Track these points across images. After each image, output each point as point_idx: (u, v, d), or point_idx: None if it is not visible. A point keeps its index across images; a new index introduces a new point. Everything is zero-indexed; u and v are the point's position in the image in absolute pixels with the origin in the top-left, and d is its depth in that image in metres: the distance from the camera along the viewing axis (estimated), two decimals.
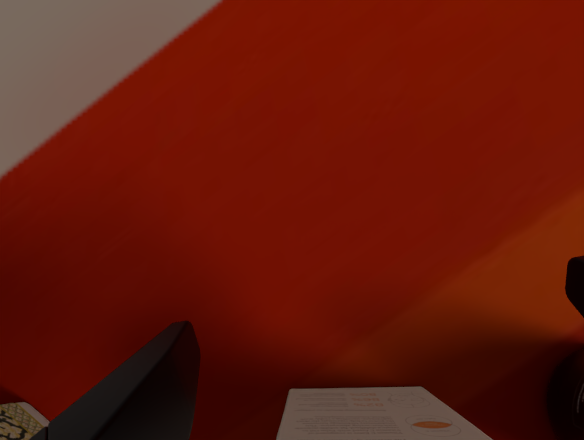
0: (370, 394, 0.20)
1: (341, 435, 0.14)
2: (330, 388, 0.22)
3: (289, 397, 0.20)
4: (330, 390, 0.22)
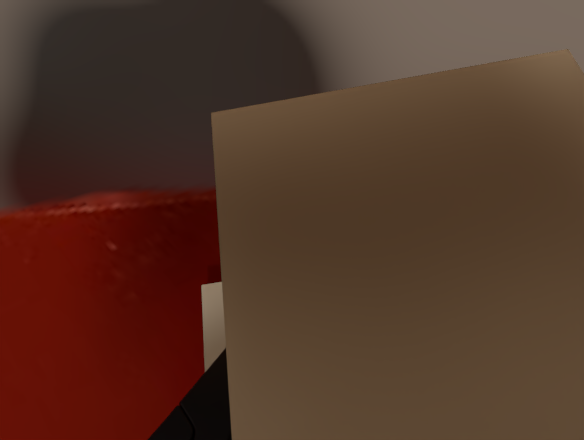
0: None
1: None
2: None
3: None
4: None
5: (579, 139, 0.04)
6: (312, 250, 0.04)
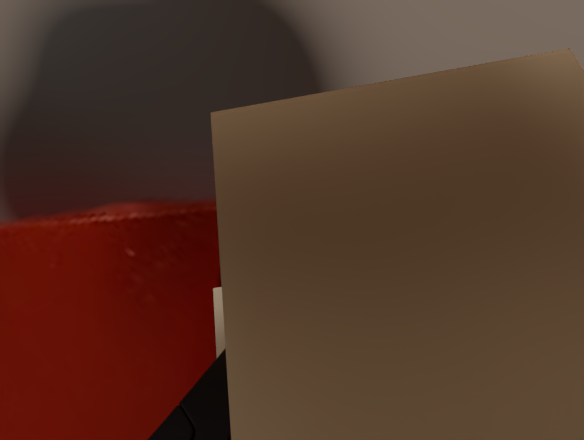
0: None
1: None
2: None
3: None
4: None
5: (581, 139, 0.04)
6: (313, 251, 0.04)
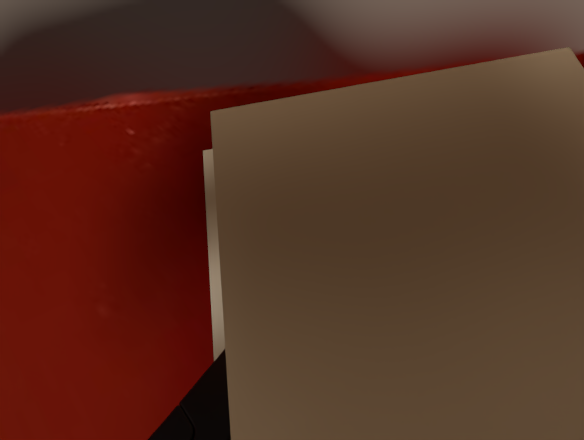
0: None
1: None
2: None
3: None
4: None
5: (581, 137, 0.04)
6: (312, 250, 0.04)
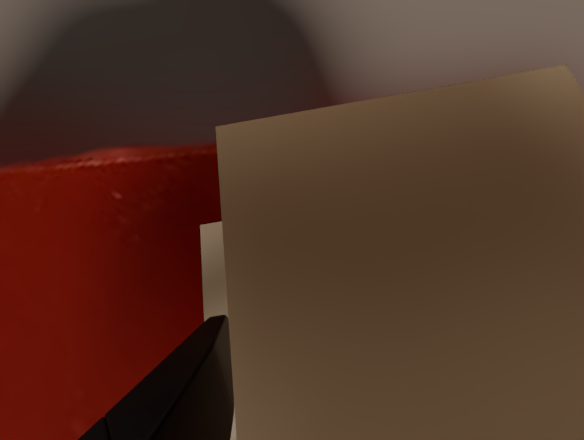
0: None
1: None
2: None
3: None
4: None
5: (576, 155, 0.04)
6: (315, 264, 0.04)
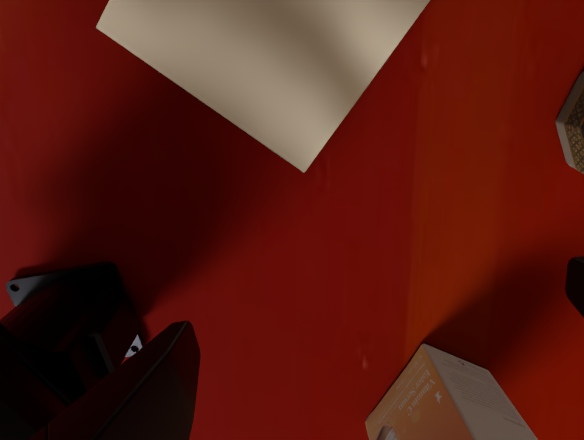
0: None
1: None
2: None
3: None
4: None
5: None
6: None
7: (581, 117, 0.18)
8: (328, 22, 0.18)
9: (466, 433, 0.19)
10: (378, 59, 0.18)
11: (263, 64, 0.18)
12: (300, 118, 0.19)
